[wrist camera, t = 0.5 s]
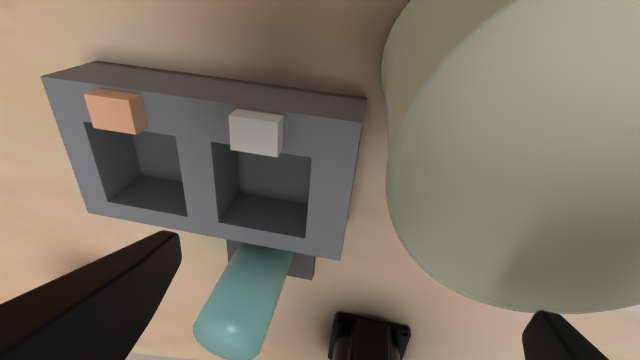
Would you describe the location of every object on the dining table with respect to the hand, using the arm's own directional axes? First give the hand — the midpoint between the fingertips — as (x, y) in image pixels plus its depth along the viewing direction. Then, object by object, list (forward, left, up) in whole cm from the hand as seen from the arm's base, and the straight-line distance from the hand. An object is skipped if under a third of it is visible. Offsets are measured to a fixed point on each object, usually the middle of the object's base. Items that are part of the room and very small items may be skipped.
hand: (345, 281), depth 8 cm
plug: (-11, +6, -13) cm, 18 cm away
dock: (-4, +9, -13) cm, 16 cm away
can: (+3, -5, -13) cm, 14 cm away
